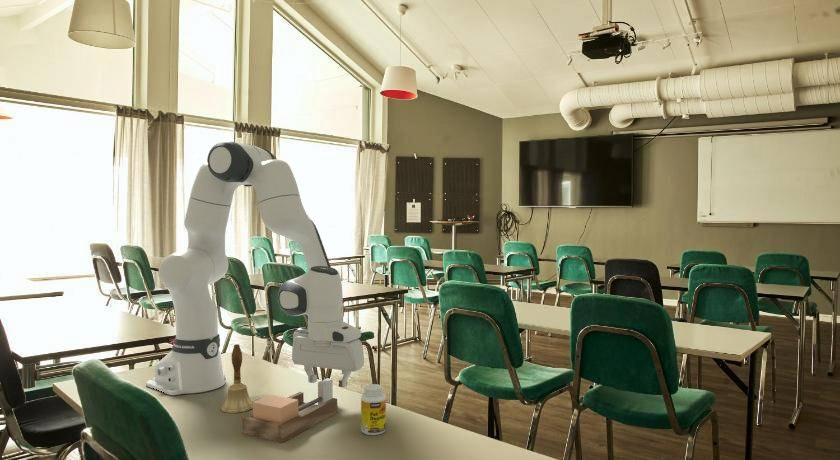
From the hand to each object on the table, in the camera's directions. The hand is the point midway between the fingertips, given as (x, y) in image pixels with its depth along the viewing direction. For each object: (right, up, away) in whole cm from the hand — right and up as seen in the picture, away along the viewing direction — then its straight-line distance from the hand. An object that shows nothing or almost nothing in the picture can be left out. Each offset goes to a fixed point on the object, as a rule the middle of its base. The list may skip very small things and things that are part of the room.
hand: (327, 384), depth 148 cm
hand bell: (-23, -6, -1) cm, 23 cm away
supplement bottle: (+13, -6, -17) cm, 22 cm away
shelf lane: (-7, -6, -11) cm, 14 cm away
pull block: (-5, -5, -9) cm, 11 cm away
